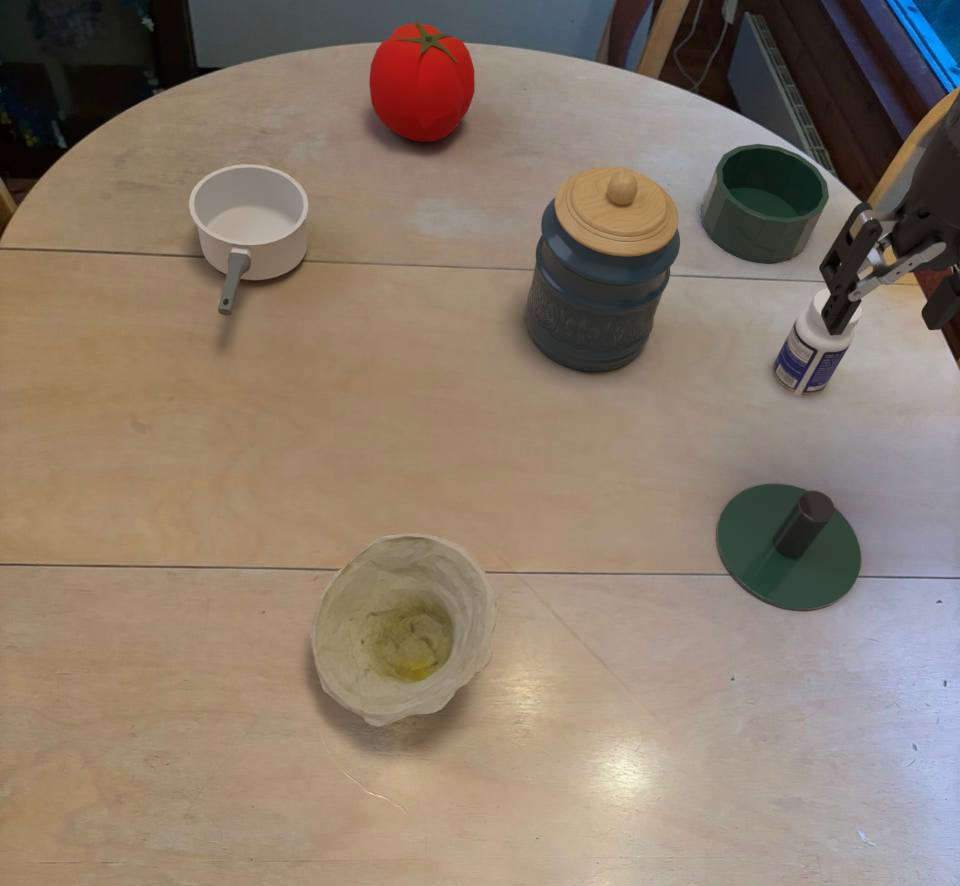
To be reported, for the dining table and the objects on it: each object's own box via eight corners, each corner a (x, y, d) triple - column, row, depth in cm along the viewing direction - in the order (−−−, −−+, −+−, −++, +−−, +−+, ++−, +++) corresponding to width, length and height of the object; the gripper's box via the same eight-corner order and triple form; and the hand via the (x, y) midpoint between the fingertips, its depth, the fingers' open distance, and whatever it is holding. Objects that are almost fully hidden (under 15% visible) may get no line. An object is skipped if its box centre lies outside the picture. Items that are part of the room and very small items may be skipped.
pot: (750, 172, 111) (767, 130, 106) (830, 233, 108) (851, 192, 103) (679, 213, 107) (693, 171, 102) (760, 278, 103) (778, 238, 98)
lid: (777, 467, 92) (807, 419, 85) (884, 561, 88) (923, 518, 81) (684, 538, 87) (708, 493, 80) (793, 641, 83) (827, 601, 77)
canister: (623, 274, 101) (668, 120, 86) (665, 365, 96) (722, 218, 80) (508, 289, 99) (533, 132, 83) (545, 383, 93) (579, 235, 78)
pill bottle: (824, 364, 98) (868, 289, 89) (823, 405, 96) (869, 333, 87) (770, 353, 98) (809, 277, 89) (768, 394, 96) (808, 320, 87)
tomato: (392, 167, 105) (393, 77, 96) (354, 103, 110) (352, 11, 101) (488, 146, 109) (499, 57, 99) (448, 85, 113) (455, -5, 104)
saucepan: (171, 346, 91) (160, 302, 86) (209, 205, 100) (200, 157, 95) (292, 359, 92) (287, 316, 87) (318, 218, 101) (315, 171, 96)
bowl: (288, 615, 79) (277, 551, 70) (442, 564, 83) (450, 497, 74) (352, 773, 74) (349, 726, 65) (514, 711, 77) (532, 658, 68)
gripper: (926, 175, 57) (812, 366, 71) (1129, 170, 59) (980, 356, 74) (881, 95, 60) (781, 294, 74) (1076, 94, 62) (943, 286, 77)
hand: (880, 325), depth 74 cm, fingers open, 8 cm apart
